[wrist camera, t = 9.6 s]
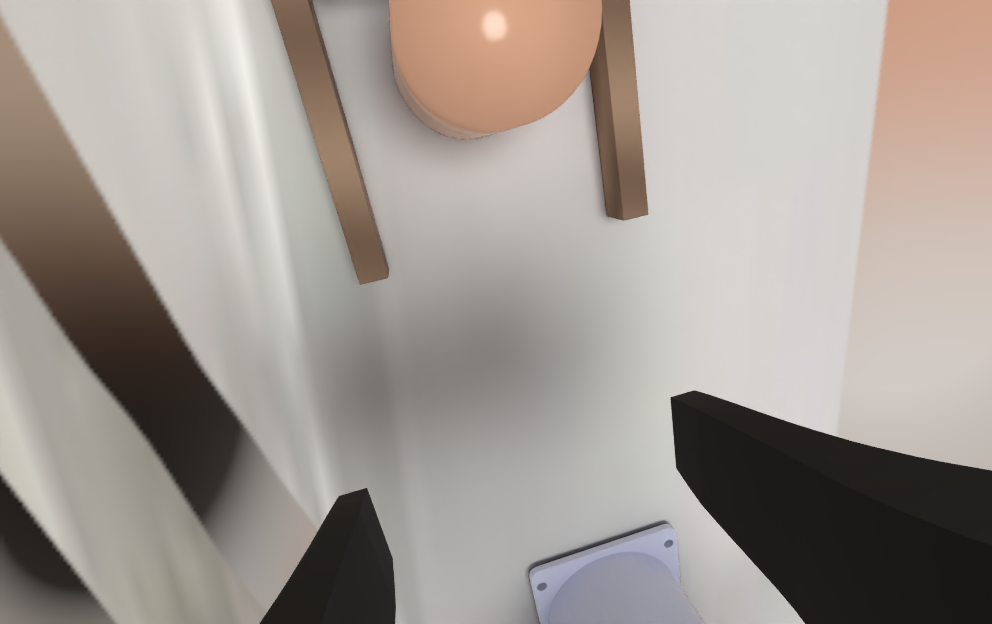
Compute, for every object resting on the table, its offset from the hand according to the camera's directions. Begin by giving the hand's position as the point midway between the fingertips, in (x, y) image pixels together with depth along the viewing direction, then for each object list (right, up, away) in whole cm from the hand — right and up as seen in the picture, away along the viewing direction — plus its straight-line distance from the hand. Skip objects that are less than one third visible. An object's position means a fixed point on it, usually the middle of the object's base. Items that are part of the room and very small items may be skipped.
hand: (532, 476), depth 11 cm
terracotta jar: (-2, +12, +6) cm, 14 cm away
